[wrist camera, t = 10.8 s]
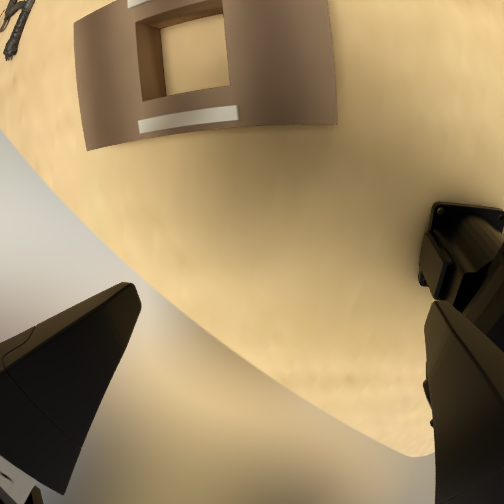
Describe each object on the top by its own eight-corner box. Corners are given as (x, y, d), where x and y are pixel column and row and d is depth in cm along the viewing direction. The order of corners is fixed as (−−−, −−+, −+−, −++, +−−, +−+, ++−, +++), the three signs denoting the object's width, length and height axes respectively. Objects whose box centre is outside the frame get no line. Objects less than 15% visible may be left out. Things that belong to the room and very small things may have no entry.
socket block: (320, -25, 11) (318, -47, 8) (334, 120, 16) (337, 125, 13) (100, 26, 14) (70, 22, 12) (112, 142, 19) (84, 152, 17)
